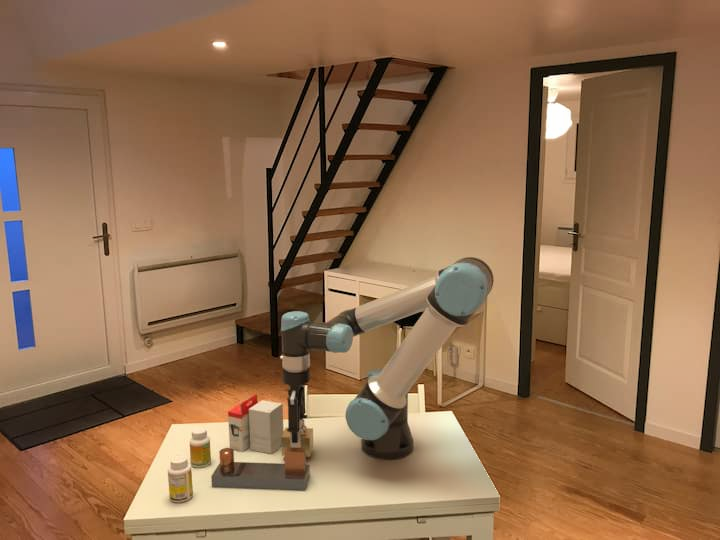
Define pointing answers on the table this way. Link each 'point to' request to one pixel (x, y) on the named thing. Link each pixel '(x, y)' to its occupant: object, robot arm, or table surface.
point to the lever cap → (305, 438)
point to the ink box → (240, 424)
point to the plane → (263, 472)
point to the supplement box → (266, 426)
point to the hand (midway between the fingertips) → (297, 446)
